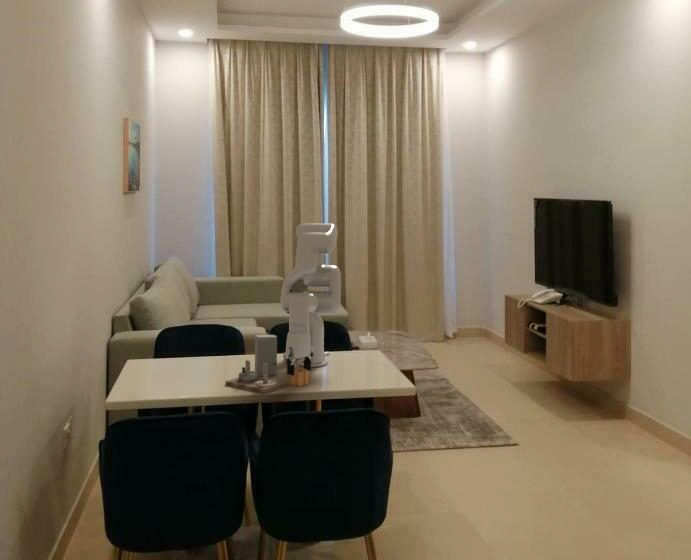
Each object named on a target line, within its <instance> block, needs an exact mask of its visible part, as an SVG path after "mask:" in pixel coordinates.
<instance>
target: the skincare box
mask: <svg viewBox="0 0 691 560" xmlns="http://www.w3.org/2000/svg"><path fill="white" fill-rule="evenodd" d="M254 339H255V340H254V372H257V376H260V377H263V363H267V364H268V377H269V376H278V375H277V373H278V372H277V371H278V365H277V363H278V336H277V335H275V334H254Z"/></svg>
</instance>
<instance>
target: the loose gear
mask: <svg viewBox="0 0 691 560" xmlns="http://www.w3.org/2000/svg"><path fill="white" fill-rule="evenodd" d="M309 384H310V371H309V370H307V369H304V368H300V367H298V368H295V374H294V375H289V385H291V386H294V387H295V386H298V387H302V386H308V385H309Z"/></svg>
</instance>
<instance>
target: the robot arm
mask: <svg viewBox="0 0 691 560" xmlns="http://www.w3.org/2000/svg"><path fill="white" fill-rule="evenodd" d="M295 231H296V232H295V235H296V238H297V244H296V253H295V264H294V265H295V266H294V268H293V270H292V271H290V272H289V273H288V275H287V276H286V277H285V279H284V281H283V282H282V286H281V291H280V292H281V293H280V308H281V309H282V311H284V312H285V313H286V312H289V313H288V314H289V315H288V322H289V323H288V326H289V327H288V330H289V331H288V332H287V336H286V342H285V343H286V345H285V352H283V354H282V357H283V361H284V362H285V364H286V374H287V375H289V376H290V375H294V374H295V369H296V368H295V364H294V363H295V361H296V360H298V361H297V364H298V365H299V366H302V367H303V369H307V370H309V372H310V371H311V370H312V368H315V367H317V368H319V367H323V366H327V364H328V360H327V359H326V357H330V355H331V353H330V352H329V351H325V347H324V346H325V341H324V339H325V327H324V325H325V324H324V320H323V318H322V317H321V316H320V315H319V314H337V313H338V312H340V309H341V302H342V301H341V299H342V298H341V297H342V293H341V292H342V289H341V288H342V287H341V286H342V275H341V273H342V272H341V271H340V268H339V266H337V265H332V264H324V255H325V254H331V253H332V252H333V251H334V249H335V246H336V243H337V240H338V237H339V236H338V234H339V232H338V231H339V230H338V228H337V226H336V224H334V223H323V222H322V223H319V222H318V223H317V222H316V223H315V222H310V223H309V222H308V223H306V222H305V223H301V224H298V225H297V226H296V229H295ZM300 279H303V280H304V284H305V285H306V286H308V288H326V289H327V288H328V289H329V290H320V289H319V290H316V289H315V290H311V289H309V291H304V292H303V293H291V292H289V291H290V289H291V286H292V285H293V284H294V283H295V282H296V281H298V280H300ZM300 358H302V359H300Z"/></svg>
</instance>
